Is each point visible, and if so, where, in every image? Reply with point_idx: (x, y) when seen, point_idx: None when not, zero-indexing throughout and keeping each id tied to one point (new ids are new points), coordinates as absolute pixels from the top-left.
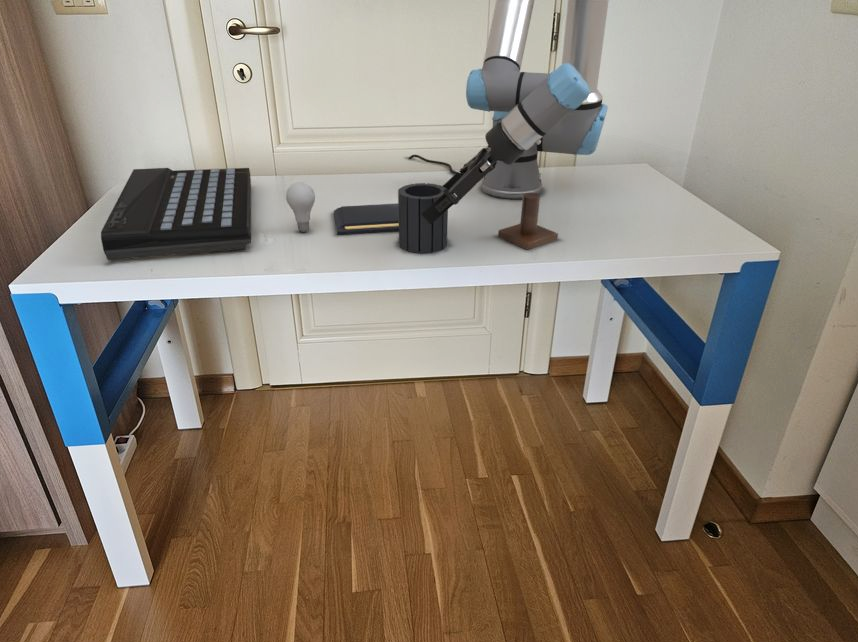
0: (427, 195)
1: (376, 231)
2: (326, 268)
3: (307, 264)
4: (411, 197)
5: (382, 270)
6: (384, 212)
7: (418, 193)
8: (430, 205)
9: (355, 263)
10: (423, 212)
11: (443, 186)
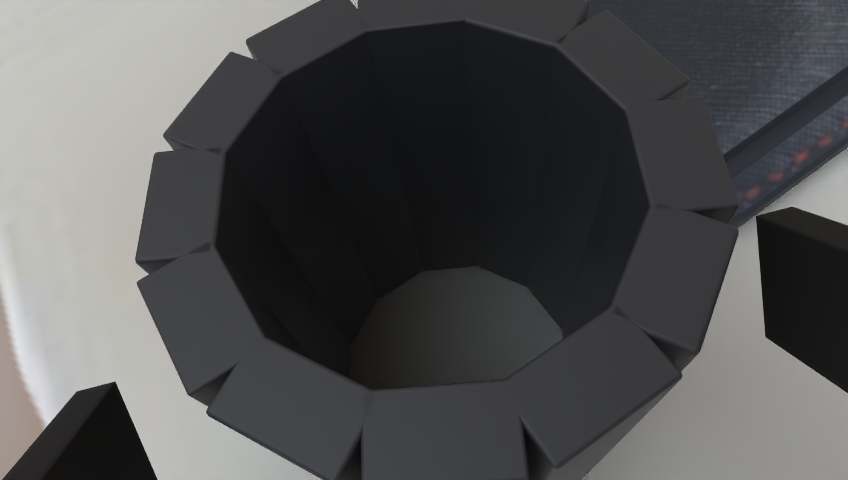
0: (610, 196)
1: None
2: (13, 126)
3: (39, 52)
4: (159, 180)
5: (33, 345)
6: (658, 3)
7: (562, 118)
8: (56, 456)
9: (89, 194)
10: (62, 409)
11: (840, 258)
